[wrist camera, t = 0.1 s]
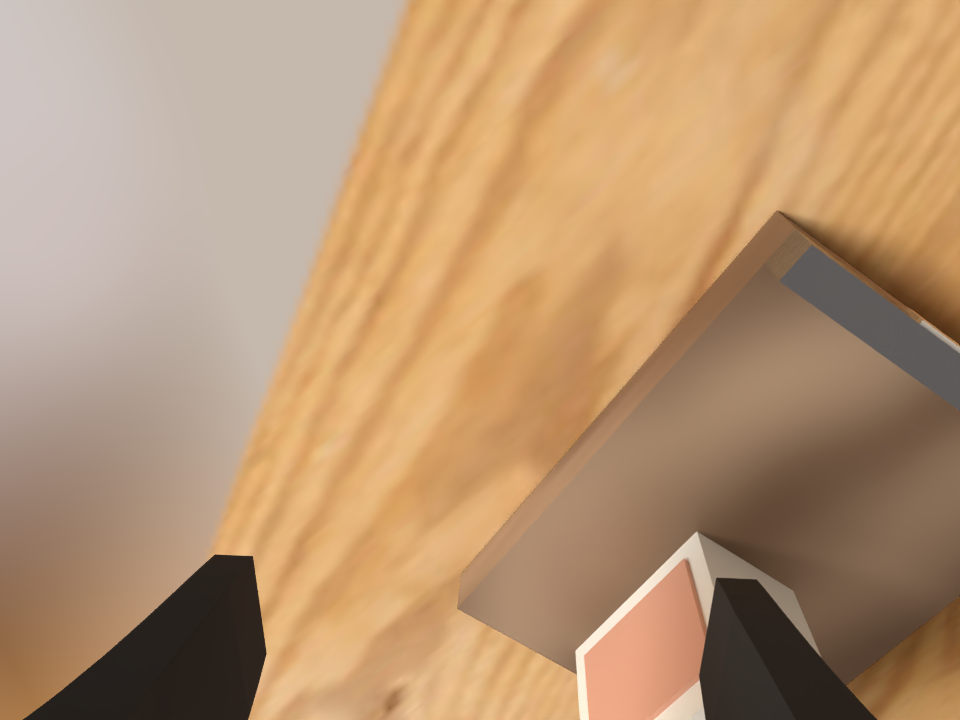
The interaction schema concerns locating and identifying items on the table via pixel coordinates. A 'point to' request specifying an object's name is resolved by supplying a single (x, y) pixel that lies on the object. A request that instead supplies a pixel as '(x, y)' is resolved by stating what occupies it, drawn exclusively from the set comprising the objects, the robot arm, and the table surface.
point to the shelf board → (745, 480)
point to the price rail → (869, 314)
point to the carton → (665, 638)
